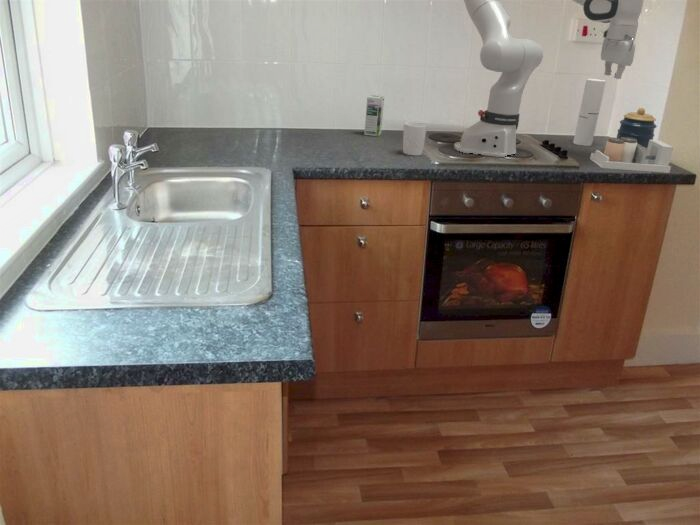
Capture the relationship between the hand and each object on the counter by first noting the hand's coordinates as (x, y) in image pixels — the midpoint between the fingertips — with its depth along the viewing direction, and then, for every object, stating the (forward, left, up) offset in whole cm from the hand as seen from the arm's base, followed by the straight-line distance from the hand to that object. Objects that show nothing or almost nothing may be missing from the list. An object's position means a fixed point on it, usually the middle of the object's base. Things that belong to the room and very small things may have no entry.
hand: (612, 76), depth 220 cm
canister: (+19, +14, -29) cm, 38 cm away
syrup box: (-80, +16, -29) cm, 87 cm away
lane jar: (+8, -6, -28) cm, 30 cm away
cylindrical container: (+5, +28, -29) cm, 41 cm away
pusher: (+17, -8, -28) cm, 34 cm away
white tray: (+10, -8, -29) cm, 32 cm away
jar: (+3, -8, -28) cm, 30 cm away
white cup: (-67, -10, -29) cm, 74 cm away
